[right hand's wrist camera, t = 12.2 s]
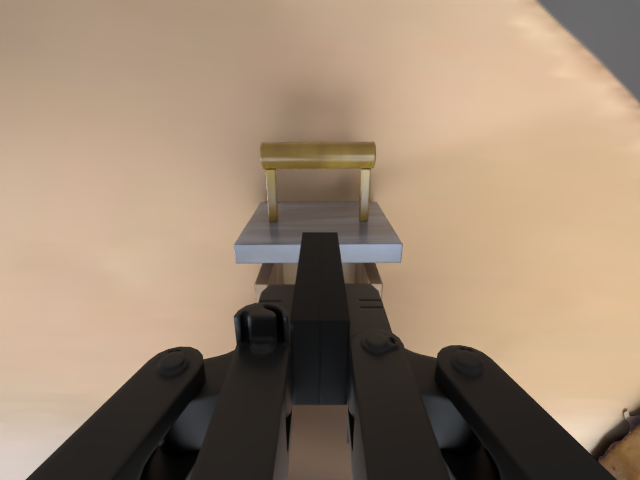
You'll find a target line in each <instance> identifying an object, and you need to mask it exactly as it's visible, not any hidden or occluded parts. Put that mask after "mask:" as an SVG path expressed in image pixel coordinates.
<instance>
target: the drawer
mask: <svg viewBox="0 0 640 480" xmlns="http://www.w3.org/2000/svg"><path fill="white" fill-rule="evenodd" d="M260 158H261V165H262V168H263V169H266V183H267V199H268V202H261V203H260V205H259V206H258V208H257V210H256V211H255V213H254V214H253V216H252V217H251V219H250V220H249V222H248V224H247V225H246V227H245V228H244V230H243V231H242V233H241V235H240V236H239V238H238V239H237V241H236V242H235V244H234V250H235V260H236V263H263V264H262V266H261V269H260V272H259V274H258V277H257V280H256V282H255V295H256V303H258V302H259V298H260V295H261V292H262V291H263V290H264V289H265V288H266V287H268V286H269V285H270V284H295V282H296V275H297V267H298V260H299V253H300V246H301V239H302V232H338V239H339V246H340V253H341V260H342V268H343V275H344V282H345V283H370V284H371V285H373V286H374V287H375V288H376V289H377V290H378V291H379V294H380V297H381V300H382V286H383V284H382V281H381V278H380V275H379V273H378V270H377V267H376V264H375V263H401V257H402V246H403V244H402V242H401V241H400V239H399V237H398V236H397V234H396V232H395V231H394V229H393V228H392V226H391V224H390V223H389V221H388V220H387V218H386V216H385V215H384V213H383V212H382V210H381V208H380V207H379V205H378V203H377V202H369V194H370V174H371V169H370V168H374V166H375V160H376V146H375V143H374V142H263V143H261V148H260ZM341 168H361V173H360V199H359V202H278V201H277V181H276V169H341Z"/></svg>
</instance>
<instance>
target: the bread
mask: <svg viewBox="0 0 640 480" xmlns="http://www.w3.org/2000/svg"><path fill="white" fill-rule="evenodd" d="M624 417H625V419H626V420H627V422H628V423H629V425H630V429H629V434H627V435H625V437H624V438H623V439H622V440H621V441H616V442H613V443H612V444H611V445H610V447H609V448H608V449H607V450H606V452H605V453H604V456H599V458H598V462H599V463H600V464H601V465H602V466H603V467H604V468H605V469H606V470H608V471H609V472H610V473H611V474H612V475H613V476H614V477H615V478H616V479H617V480H640V415H636V416H630V415H629V411H626V412H625V413H624Z"/></svg>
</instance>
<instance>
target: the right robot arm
mask: <svg viewBox="0 0 640 480" xmlns="http://www.w3.org/2000/svg"><path fill="white" fill-rule="evenodd" d="M234 322H235V332H236V341H237V346H236V349H235V350H234V351H231V352H229V353H227V354H224V355H221V356H217V357H212V358H208V359H203V355H202V354H201V353H200V352H199V351H198V350H197V349H194V348H191V347H176V348H171V349H168V350H165V351H163V352H161V353H159V354H157V355H156V356H154V357H153V358H152V359H150V360H149V361H148V362H147V363H146V364H145V365H144V366H143V367H142V368H141V369H140V370H138V371H137V372H136V373H135V374H134V375H133V376H132V377H131V378H130V379H129V380H128V381H127V382H126V383H125V384H124V385H123V386H122V387H121V388H120V389H119V390H118V391H117V392H116V393H115V394H114V395H113V396H112V397H111V398H110V399H109V400H108V401H106V402H105V403H104V404H103V405H102V406H101V407H100V408H99V409H98V410H97V411H96V412H95V413H94V414H93V415H92V416H91V417H90V418H89V419H88V420H87V421H86V422H85V423H84V424H83V425H82V426H81V427H80V428H79V429H78V430H77V431H75V432H74V433H73V434H72V435H71V436H70V437H69V438H68V439H67V440H66V441H65V442H64V443H63V444H62V445H61V446H60V447H59V448H58V449H57V450H56V451H55V452H54V453H53V454H52V455H51V456H50V457H49V458H48V459H47V460H46V461H45V462H43V463H42V464H41V465H40V466H39V467H38V468H37V469H36V470H35V471H34V472H33V473H32V474H31V475H30V476H29V477H28V478H27V479H26V480H288V469H289V458H290V446H291V434H292V402H293V405H347V400H348V422H347V443H349V445H350V457H351V469H352V480H617V479H616V478H615V477H614V476H613V475H612V474H611V473H610V472H609V471H608V470H606V469H605V468H604V467H603V466H602V465H601V464H600V463H599V462H598V461H597V460H596V459H595V458H594V457H593V456H592V455H591V454H590V453H589V452H588V451H587V450H586V449H585V448H584V447H583V446H582V445H580V444H579V443H578V442H577V441H576V440H575V439H574V438H573V437H572V436H571V435H570V434H569V433H568V432H567V431H566V430H565V429H564V428H563V427H562V426H561V425H560V424H559V423H558V422H557V421H556V420H554V419H553V418H552V417H551V416H550V415H549V414H548V413H547V412H546V411H545V410H544V409H543V408H542V407H541V406H540V405H539V404H538V403H537V402H536V401H535V400H534V399H533V398H532V397H531V396H529V395H528V394H527V393H526V392H525V391H524V390H523V389H522V388H521V387H520V386H519V385H518V384H517V383H516V382H515V381H514V380H513V379H512V378H511V377H510V376H509V375H508V374H507V373H506V372H505V371H503V370H502V369H501V368H500V367H499V366H498V365H497V364H496V363H495V362H494V361H493V360H492V359H491V358H489V357H488V356H487V355H485V354H484V353H483V352H481V351H478V350H476V349H474V348H471V347H466V346H461V345H452V346H448V347H445V348H442V349H441V350H440V352H439V353H438V355H437V358H434V357H429V356H425V355H421V354H417V353H414V352H411V351H409V350H407V349H405V348H404V345H403V343H402V342H401V340H400V339H399V338H398V337H397V336H396V335H394V334H393V333H392V331H391V328H390V325H389V322H388V319H387V315H386V312H385V309H384V306H383V303H382V301H381V297H380V294H379V291H378V290H377V289H376V288H375V287H374V286H373V285H371V284H370V283H345V282H344V275H343V268H342V260H341V253H340V246H339V239H338V232H302V239H301V246H300V253H299V260H298V267H297V275H296V282H295V284H270V285H269V286H268V287H266V288H265V289H264V290H263V291H262V292H261V295H260V298H259V302H258V303H254V304H251V305H248V306H245V307H244V308H242V309H240V310H239V311H238V312H237V313H236V314H235V316H234Z"/></svg>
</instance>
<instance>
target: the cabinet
mask: <svg viewBox="0 0 640 480" xmlns="http://www.w3.org/2000/svg"><path fill="white" fill-rule="evenodd" d="M347 422H348V400H347V405H293V402H292V434H291V446H290V458H289V469H288V480H352V469H351V457H350V445H349V443H347Z"/></svg>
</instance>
